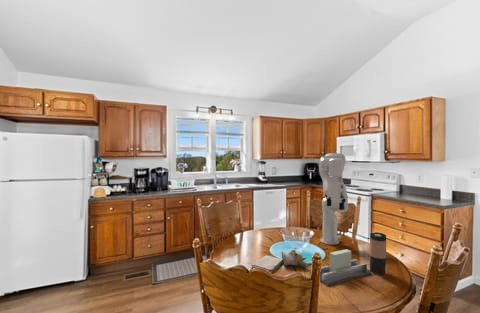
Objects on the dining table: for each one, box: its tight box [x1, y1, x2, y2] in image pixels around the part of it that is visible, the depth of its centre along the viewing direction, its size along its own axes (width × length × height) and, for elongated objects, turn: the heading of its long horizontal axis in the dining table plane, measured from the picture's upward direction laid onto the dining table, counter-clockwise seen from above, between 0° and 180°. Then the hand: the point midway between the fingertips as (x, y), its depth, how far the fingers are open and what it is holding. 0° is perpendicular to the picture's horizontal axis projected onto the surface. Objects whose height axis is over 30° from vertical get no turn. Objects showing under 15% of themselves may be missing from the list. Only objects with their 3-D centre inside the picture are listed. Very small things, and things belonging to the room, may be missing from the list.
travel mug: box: [369, 232, 387, 276], centre depth 129 cm, size 8×8×20 cm
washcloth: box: [251, 255, 284, 274], centre depth 135 cm, size 12×18×3 cm, turn 147°
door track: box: [309, 258, 372, 287], centre depth 126 cm, size 30×12×4 cm, turn 115°
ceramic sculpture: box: [281, 249, 311, 268], centre depth 136 cm, size 11×9×15 cm
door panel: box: [329, 248, 352, 272], centre depth 126 cm, size 12×3×10 cm, turn 115°
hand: (335, 207), depth 145 cm, fingers open, 9 cm apart
